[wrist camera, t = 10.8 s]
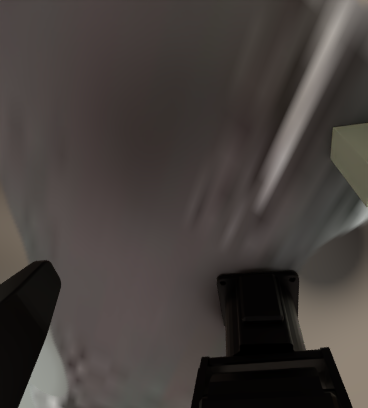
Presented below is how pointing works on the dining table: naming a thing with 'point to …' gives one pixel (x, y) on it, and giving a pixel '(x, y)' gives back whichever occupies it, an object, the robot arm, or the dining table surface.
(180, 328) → the dining table surface
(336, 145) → the grey block
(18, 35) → the dining table surface
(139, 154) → the dining table surface
